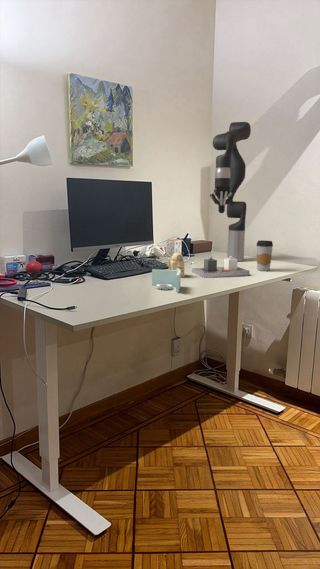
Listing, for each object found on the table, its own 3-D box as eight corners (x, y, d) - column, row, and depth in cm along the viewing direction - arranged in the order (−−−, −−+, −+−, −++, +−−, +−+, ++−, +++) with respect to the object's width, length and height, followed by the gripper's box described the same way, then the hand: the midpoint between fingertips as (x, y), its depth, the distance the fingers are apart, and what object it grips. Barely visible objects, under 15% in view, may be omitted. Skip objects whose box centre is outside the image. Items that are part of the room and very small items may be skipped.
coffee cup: (270, 269, 242) (272, 240, 239) (272, 271, 234) (274, 242, 231) (254, 268, 242) (255, 240, 240) (255, 271, 234) (257, 241, 231)
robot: (167, 279, 210) (167, 246, 208) (163, 276, 218) (163, 244, 215) (189, 279, 213) (190, 246, 210) (184, 276, 220) (185, 244, 217)
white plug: (224, 272, 228) (224, 255, 226) (232, 272, 229) (233, 255, 228) (228, 274, 224) (229, 257, 222) (236, 273, 225) (237, 256, 223)
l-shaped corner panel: (152, 286, 196) (152, 269, 195) (180, 287, 195) (180, 270, 194) (148, 292, 185) (148, 274, 183) (178, 293, 184) (179, 275, 182)
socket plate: (191, 273, 227) (191, 266, 227) (235, 271, 235) (235, 264, 234) (203, 278, 214) (203, 271, 214) (249, 275, 222) (249, 269, 221)
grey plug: (203, 273, 224) (204, 256, 223) (212, 273, 226) (212, 256, 224) (207, 275, 220) (208, 258, 218) (216, 274, 221) (217, 257, 220)
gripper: (231, 177, 233) (229, 212, 236) (207, 177, 229) (206, 212, 232) (238, 177, 226) (236, 213, 229) (213, 177, 222) (212, 213, 225)
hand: (221, 213), depth 231 cm, fingers closed
